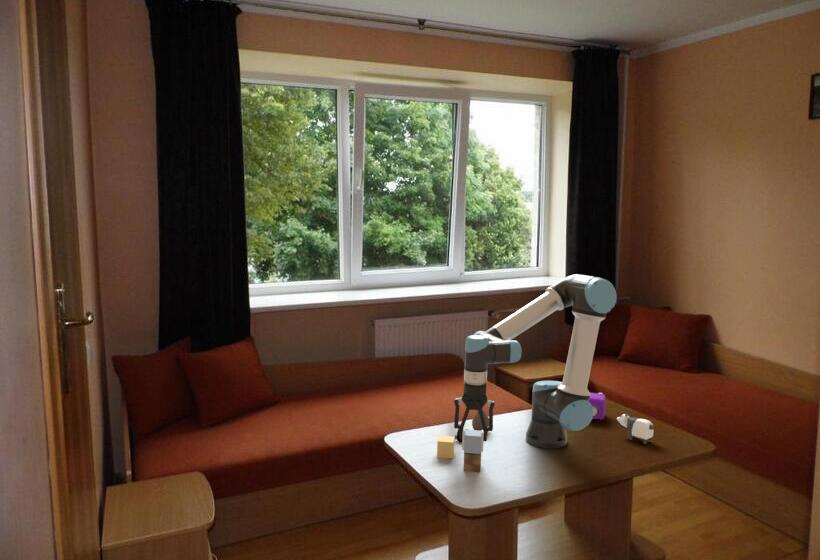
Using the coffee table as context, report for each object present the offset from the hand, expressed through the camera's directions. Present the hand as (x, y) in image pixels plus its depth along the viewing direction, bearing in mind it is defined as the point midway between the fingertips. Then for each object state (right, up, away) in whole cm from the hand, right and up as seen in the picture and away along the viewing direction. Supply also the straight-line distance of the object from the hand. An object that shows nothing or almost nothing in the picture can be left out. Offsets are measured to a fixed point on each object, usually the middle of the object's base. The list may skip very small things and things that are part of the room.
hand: (472, 449), depth 207 cm
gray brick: (0, 0, 0) cm, 0 cm away
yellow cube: (-8, -5, +11) cm, 15 cm away
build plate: (-1, -4, +26) cm, 26 cm away
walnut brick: (0, -7, +1) cm, 7 cm away
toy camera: (+56, -2, +53) cm, 77 cm away
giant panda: (+66, -5, +29) cm, 72 cm away
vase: (+7, -3, +35) cm, 36 cm away
